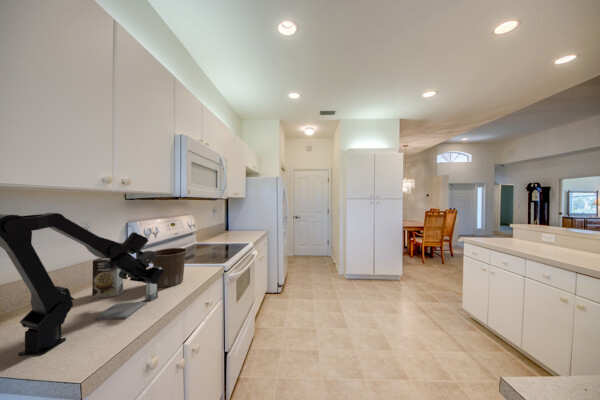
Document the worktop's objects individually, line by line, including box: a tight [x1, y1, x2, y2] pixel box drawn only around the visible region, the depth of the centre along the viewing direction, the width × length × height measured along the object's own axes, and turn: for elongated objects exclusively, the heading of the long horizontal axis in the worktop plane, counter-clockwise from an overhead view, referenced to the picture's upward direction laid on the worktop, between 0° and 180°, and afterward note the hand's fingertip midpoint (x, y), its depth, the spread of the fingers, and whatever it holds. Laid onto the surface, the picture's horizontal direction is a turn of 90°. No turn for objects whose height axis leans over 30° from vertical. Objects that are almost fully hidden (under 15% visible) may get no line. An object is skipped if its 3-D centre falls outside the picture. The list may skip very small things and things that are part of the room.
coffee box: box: [91, 257, 124, 299], centre depth 98 cm, size 9×6×16 cm
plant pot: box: [151, 247, 188, 288], centre depth 111 cm, size 16×16×16 cm
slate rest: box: [93, 301, 147, 321], centre depth 83 cm, size 11×11×1 cm
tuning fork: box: [144, 283, 159, 302], centre depth 93 cm, size 3×3×12 cm
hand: (154, 282), depth 94 cm, fingers open, 3 cm apart
